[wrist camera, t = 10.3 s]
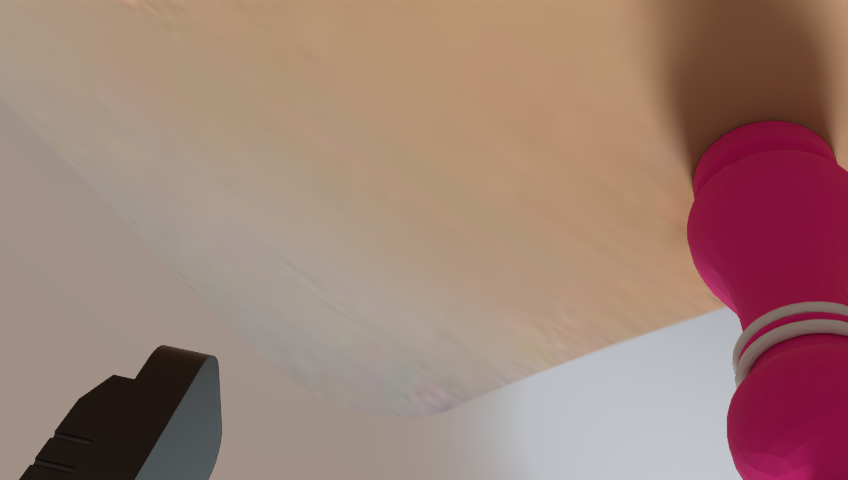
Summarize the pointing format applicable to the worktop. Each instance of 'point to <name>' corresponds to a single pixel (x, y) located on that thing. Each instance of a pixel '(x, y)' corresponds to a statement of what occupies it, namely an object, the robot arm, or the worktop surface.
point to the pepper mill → (779, 294)
